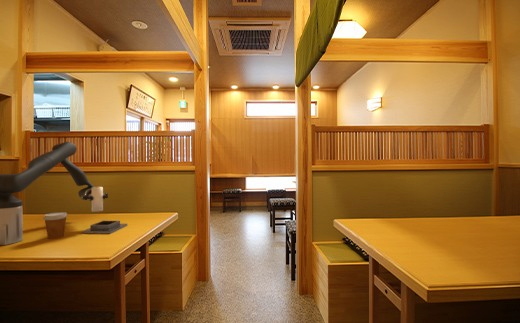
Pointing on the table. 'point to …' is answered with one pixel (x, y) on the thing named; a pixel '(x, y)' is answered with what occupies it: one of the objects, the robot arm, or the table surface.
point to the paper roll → (97, 199)
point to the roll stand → (105, 227)
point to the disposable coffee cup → (55, 224)
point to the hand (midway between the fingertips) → (98, 197)
